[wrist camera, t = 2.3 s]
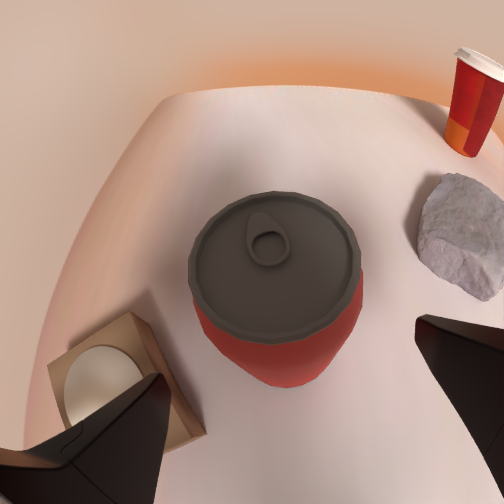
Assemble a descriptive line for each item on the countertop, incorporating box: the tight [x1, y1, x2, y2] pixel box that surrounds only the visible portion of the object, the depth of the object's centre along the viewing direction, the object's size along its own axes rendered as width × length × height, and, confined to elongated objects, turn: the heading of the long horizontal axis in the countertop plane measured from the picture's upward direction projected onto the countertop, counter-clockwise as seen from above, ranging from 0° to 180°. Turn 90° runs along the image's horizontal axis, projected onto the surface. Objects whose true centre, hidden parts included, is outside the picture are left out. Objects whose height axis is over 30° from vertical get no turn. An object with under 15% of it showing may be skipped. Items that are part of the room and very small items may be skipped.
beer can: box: [188, 191, 363, 388], centre depth 13 cm, size 7×7×12 cm
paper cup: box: [445, 47, 504, 157], centre depth 21 cm, size 8×8×14 cm
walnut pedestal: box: [47, 311, 206, 454], centre depth 16 cm, size 10×10×3 cm
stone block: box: [417, 173, 504, 302], centre depth 19 cm, size 12×5×10 cm
